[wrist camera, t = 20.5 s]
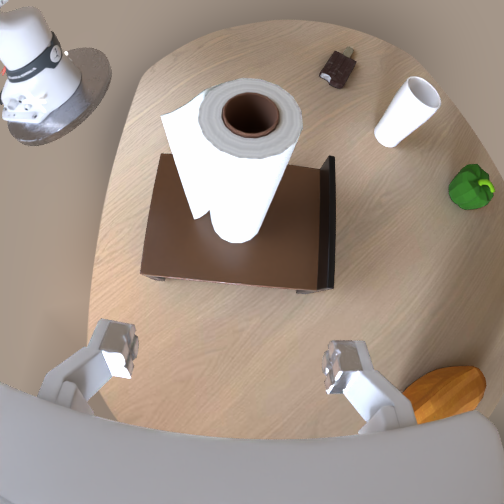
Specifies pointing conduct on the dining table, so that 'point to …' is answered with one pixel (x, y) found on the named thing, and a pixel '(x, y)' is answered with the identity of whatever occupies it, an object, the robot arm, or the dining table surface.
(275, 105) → the paper towel roll
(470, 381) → the bread
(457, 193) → the bell pepper
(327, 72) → the ice cream bar
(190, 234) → the rack
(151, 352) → the dining table surface
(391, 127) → the drinking glass
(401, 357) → the dining table surface
